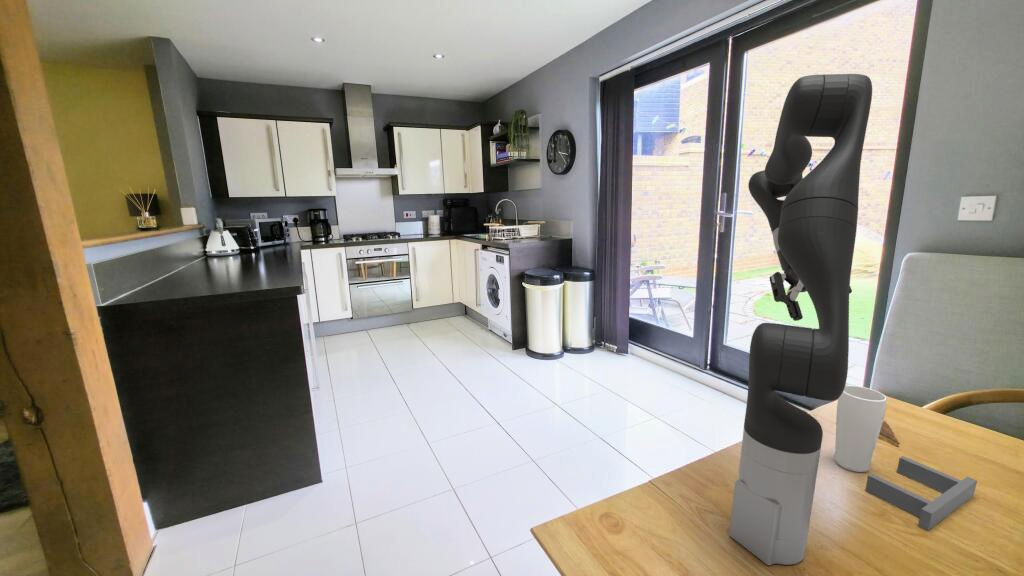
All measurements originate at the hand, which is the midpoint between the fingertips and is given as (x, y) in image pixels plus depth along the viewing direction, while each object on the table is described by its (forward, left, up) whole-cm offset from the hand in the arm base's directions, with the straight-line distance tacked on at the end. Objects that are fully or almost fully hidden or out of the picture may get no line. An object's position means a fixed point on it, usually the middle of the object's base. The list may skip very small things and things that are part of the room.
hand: (820, 318), depth 84 cm
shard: (+17, -6, -27) cm, 33 cm away
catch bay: (-3, -20, -26) cm, 33 cm away
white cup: (-3, -10, -27) cm, 29 cm away
